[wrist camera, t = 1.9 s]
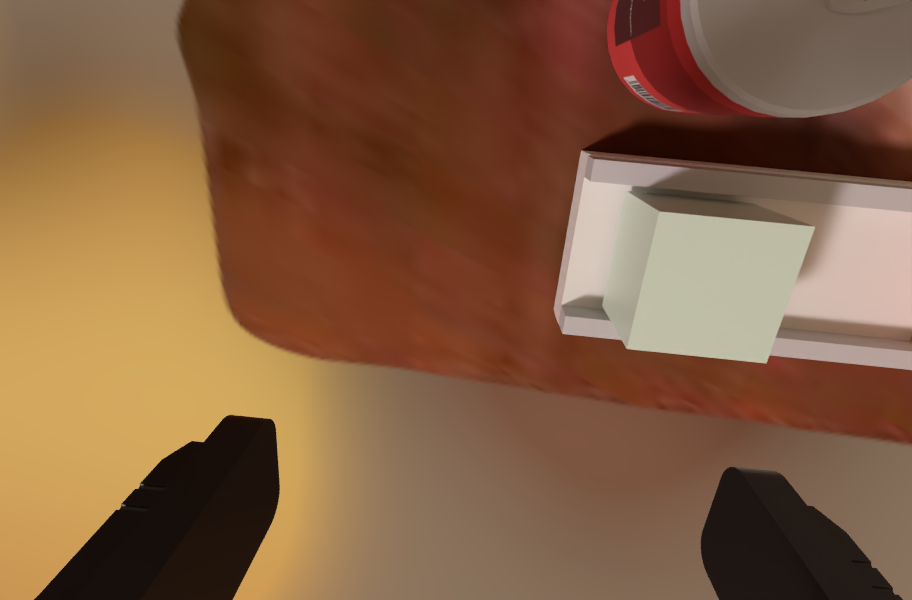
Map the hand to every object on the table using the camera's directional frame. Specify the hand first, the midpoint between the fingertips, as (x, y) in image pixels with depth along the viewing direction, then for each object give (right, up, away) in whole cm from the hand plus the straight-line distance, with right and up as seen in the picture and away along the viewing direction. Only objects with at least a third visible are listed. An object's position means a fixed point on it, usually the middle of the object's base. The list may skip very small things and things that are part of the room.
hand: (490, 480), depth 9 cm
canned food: (+10, +16, +15) cm, 24 cm away
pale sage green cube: (+10, +5, +16) cm, 20 cm away
